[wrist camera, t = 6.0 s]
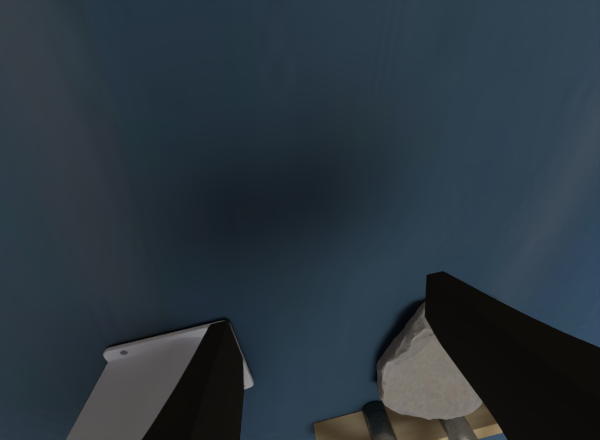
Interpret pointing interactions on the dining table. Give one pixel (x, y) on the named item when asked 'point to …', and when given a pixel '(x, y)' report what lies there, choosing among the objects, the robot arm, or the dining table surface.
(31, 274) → the dining table surface
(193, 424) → the robot arm
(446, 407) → the stone block
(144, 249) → the dining table surface
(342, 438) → the bench stop
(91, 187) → the dining table surface
